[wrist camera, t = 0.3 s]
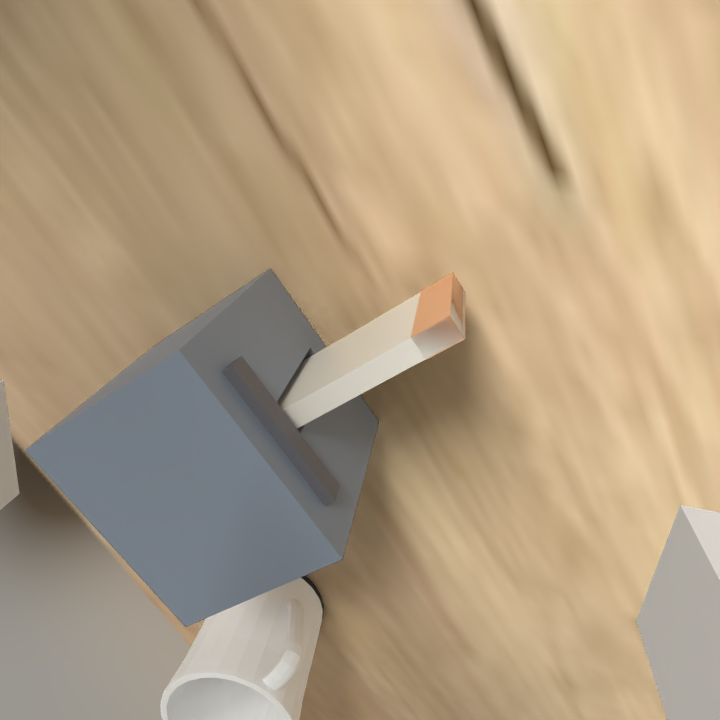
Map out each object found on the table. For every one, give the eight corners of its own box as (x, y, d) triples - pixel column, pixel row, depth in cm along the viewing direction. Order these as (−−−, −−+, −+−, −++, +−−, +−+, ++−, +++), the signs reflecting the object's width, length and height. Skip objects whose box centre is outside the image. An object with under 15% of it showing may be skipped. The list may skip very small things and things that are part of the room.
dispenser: (154, 346, 40) (24, 450, 28) (278, 263, 37) (189, 343, 25) (262, 482, 43) (185, 627, 31) (386, 417, 40) (353, 554, 28)
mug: (283, 659, 50) (241, 788, 41) (198, 595, 49) (134, 714, 39) (370, 592, 46) (346, 719, 36) (279, 520, 44) (230, 633, 35)
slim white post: (206, 416, 39) (156, 479, 33) (453, 272, 33) (449, 315, 26) (219, 432, 39) (171, 497, 33) (465, 292, 33) (465, 339, 27)
